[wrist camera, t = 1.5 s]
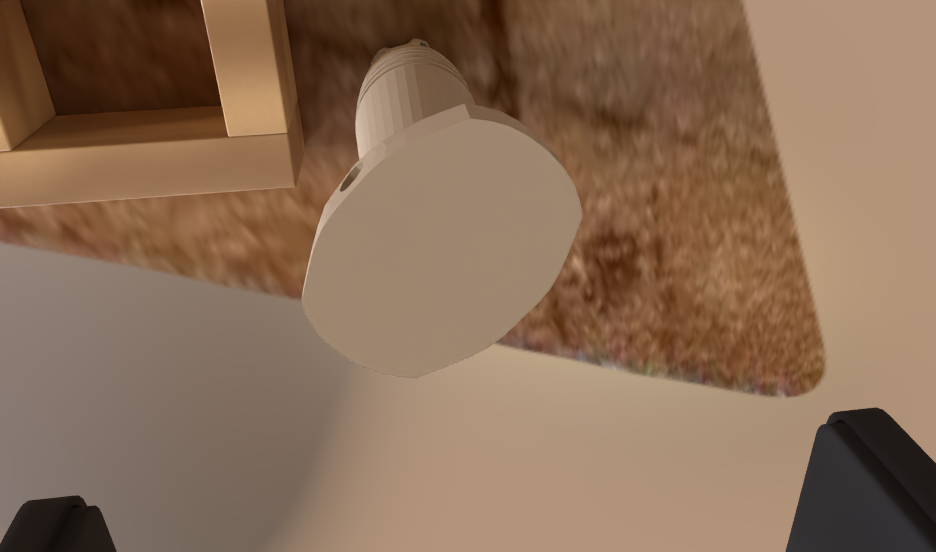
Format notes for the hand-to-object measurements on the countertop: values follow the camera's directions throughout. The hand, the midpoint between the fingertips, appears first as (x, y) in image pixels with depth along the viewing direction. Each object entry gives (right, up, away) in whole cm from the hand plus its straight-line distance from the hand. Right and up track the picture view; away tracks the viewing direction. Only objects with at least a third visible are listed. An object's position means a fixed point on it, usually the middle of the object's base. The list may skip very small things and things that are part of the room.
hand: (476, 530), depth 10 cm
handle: (-2, +11, +19) cm, 22 cm away
